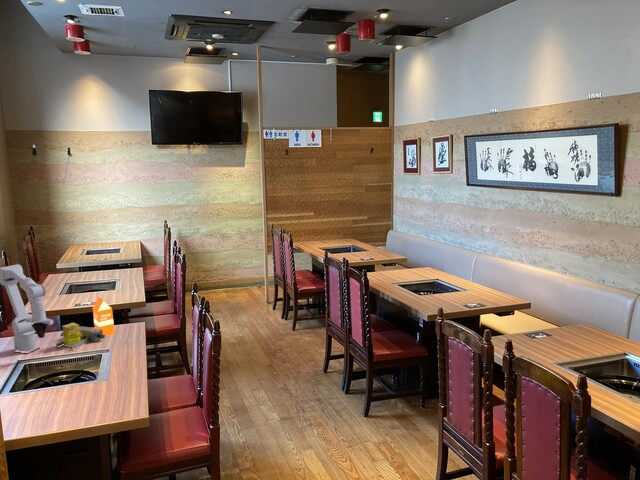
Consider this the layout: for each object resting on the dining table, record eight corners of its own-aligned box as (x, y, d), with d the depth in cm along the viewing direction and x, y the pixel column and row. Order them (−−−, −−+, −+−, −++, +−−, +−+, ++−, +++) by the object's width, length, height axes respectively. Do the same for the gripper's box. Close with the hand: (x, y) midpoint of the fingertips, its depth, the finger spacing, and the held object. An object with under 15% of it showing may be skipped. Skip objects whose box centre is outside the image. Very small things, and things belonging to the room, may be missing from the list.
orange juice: (109, 329, 277) (106, 295, 273) (114, 333, 270) (111, 298, 266) (94, 333, 272) (91, 298, 268) (100, 337, 265) (96, 301, 262)
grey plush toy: (50, 347, 253) (49, 336, 252) (75, 335, 269) (74, 324, 268) (84, 351, 247) (83, 340, 246) (108, 338, 263) (106, 328, 262)
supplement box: (70, 348, 252) (67, 328, 250) (64, 345, 255) (61, 325, 253) (81, 344, 256) (79, 324, 254) (75, 342, 260) (72, 322, 258)
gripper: (19, 311, 235) (22, 338, 237) (43, 314, 231) (47, 341, 233) (31, 307, 242) (35, 333, 244) (55, 309, 237) (58, 336, 240)
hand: (41, 337), depth 239 cm, fingers closed
